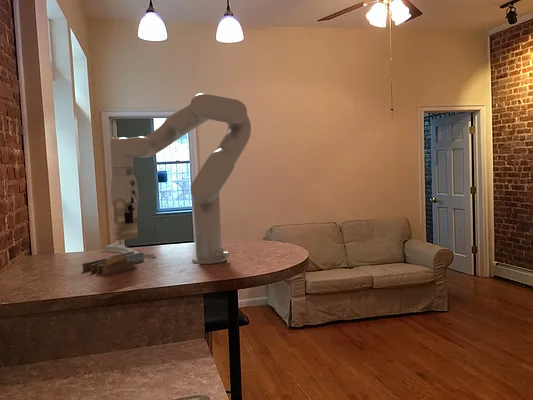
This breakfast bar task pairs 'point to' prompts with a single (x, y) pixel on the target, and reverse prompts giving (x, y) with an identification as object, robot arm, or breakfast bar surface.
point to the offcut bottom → (104, 270)
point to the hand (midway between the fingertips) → (125, 222)
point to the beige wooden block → (120, 227)
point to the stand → (134, 257)
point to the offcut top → (114, 260)
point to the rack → (96, 267)
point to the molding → (124, 250)
